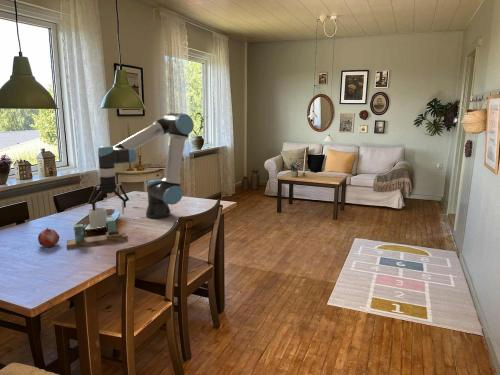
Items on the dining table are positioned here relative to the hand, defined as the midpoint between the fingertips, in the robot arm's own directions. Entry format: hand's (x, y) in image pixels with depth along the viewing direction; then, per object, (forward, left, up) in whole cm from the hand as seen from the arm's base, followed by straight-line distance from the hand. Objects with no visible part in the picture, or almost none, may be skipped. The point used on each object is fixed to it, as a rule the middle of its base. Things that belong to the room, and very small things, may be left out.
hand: (109, 214), depth 197 cm
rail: (+8, +10, -11) cm, 16 cm away
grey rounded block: (+5, -13, -11) cm, 18 cm away
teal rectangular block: (0, 0, -11) cm, 11 cm away
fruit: (+30, +5, -11) cm, 32 cm away
